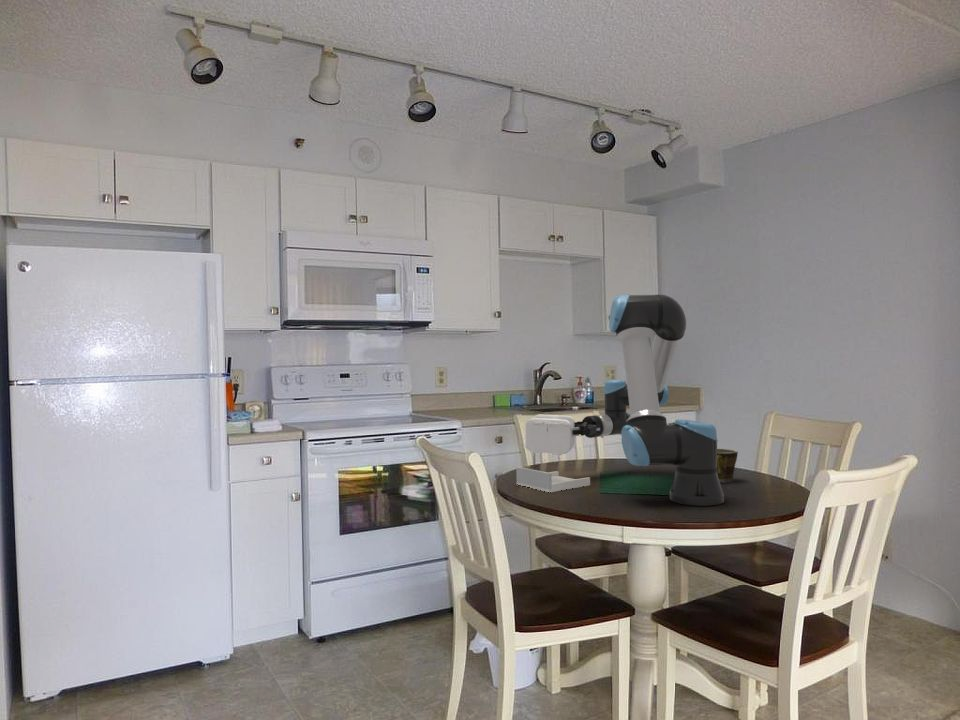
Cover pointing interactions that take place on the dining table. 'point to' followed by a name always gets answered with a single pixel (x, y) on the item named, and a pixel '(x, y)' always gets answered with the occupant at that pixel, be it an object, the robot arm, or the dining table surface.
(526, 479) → the tray
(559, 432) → the cable organizer
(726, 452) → the ceramic cup
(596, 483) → the dining table surface
